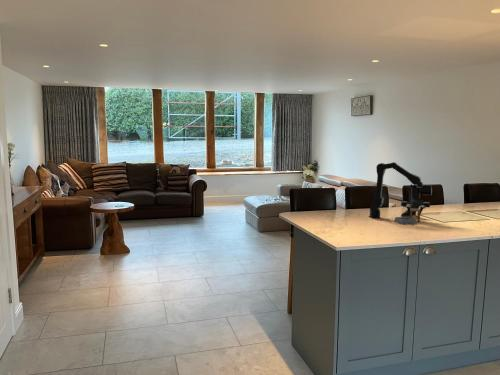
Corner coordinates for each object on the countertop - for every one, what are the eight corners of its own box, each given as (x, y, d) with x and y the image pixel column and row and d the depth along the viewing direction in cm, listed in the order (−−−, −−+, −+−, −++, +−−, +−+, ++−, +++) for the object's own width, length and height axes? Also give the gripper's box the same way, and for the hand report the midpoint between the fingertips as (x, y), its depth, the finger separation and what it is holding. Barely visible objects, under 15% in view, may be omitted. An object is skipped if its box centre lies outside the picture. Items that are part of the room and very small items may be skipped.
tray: (402, 224, 278) (402, 219, 278) (394, 221, 288) (394, 217, 288) (416, 223, 280) (416, 219, 279) (408, 221, 290) (408, 216, 289)
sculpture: (418, 218, 300) (419, 200, 298) (400, 216, 307) (401, 199, 306) (420, 217, 304) (422, 199, 302) (402, 215, 312) (403, 198, 310)
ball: (413, 221, 289) (413, 215, 288) (410, 220, 293) (410, 214, 292) (418, 221, 289) (418, 215, 289) (415, 220, 293) (415, 214, 293)
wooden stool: (419, 221, 287) (420, 210, 286) (409, 221, 289) (410, 209, 288) (419, 220, 293) (419, 208, 292) (409, 219, 295) (409, 208, 294)
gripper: (401, 195, 284) (400, 217, 286) (431, 196, 278) (430, 219, 280) (401, 193, 295) (400, 215, 296) (429, 194, 289) (428, 216, 291)
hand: (414, 216), depth 291 cm, fingers closed on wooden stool, 6 cm apart
